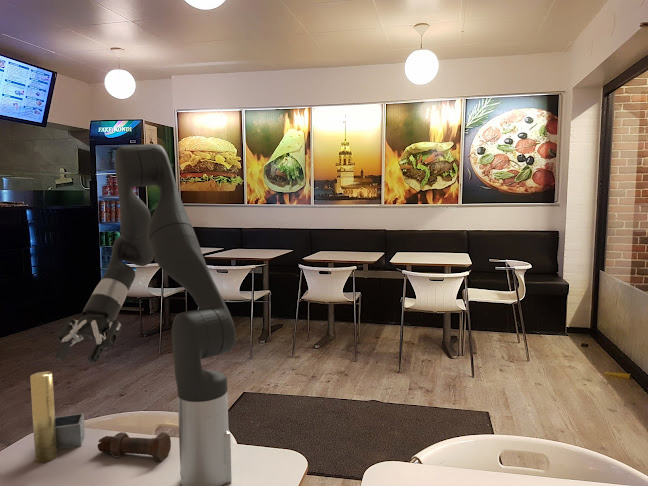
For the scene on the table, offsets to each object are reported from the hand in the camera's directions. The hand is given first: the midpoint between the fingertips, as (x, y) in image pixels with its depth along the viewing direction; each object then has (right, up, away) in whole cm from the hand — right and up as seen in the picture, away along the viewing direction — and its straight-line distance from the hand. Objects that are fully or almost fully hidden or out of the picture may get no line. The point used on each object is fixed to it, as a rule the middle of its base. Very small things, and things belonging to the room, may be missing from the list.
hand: (75, 360), depth 110 cm
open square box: (-1, -18, -1) cm, 18 cm away
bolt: (+16, -19, -7) cm, 26 cm away
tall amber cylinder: (-2, -19, -8) cm, 20 cm away
